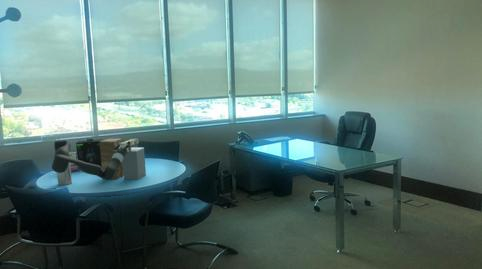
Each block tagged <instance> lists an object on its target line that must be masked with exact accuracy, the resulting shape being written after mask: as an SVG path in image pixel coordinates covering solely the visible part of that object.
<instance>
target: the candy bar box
mask: <svg viewBox="0 0 482 269" xmlns="http://www.w3.org/2000/svg"><path fill="white" fill-rule="evenodd" d="M69 157H72V158H75V159H78V157H77V151H72V152H71V151H69ZM70 167H71V173H72V172H78V171H79V167H78V166H76V165H75V164H73V163H70Z"/></svg>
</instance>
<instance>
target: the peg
mask: <svg viewBox="0 0 482 269" xmlns="http://www.w3.org/2000/svg"><path fill="white" fill-rule="evenodd" d="M128 141H130V146H131V147H132V146H134V145H137V144H139V138H131V139H129V140H125V142H122V143H120V147H121V148H123V147H125V146H126V145H127V143H128Z"/></svg>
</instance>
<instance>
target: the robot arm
mask: <svg viewBox="0 0 482 269" xmlns="http://www.w3.org/2000/svg"><path fill="white" fill-rule="evenodd" d="M125 141H126V140H125ZM125 141H124V140H123V142H125ZM127 141H128V140H127ZM53 147H54V156H53V157H54V158H53V160H52V164H51V169H52V171H54V172H55V173H56V178H57V186H66V185H69V184H72V183H73V179H72V172H71V167H70V163H73V164H75V165H76V166H78V169H79V168H80V169H79V170H81V171H82V172H83V173H85V174H88V175H92V176H97V177H98V178H101V179H103V180H105V181H111V180H113V179H112V178H113V176H114V174H115V172H116V170H117V168H118V167H119V165H120V163H121V162H122V160H123V159H124V157H125V155H126V153H127V152H128V151H129V152H131V148H132V145H131V146H130V141H128V143H127V145H126V146H125V147H123V148H121V147H120V145H117V146H116V147H115V148H114V152H115V153H114V155H113V156H112V159H111V161H110V162H109V164H108V166H107V167H106V169H105V171H104V170H102V167H101V166H99V165H94V164H90V163H86V162H83V161H80V160H78V158H77V159H75V158H72V157H69V153H70V152H71V147H72V146H71V142H70V141H69V140H66V139H61V140H55V141H54V146H53Z"/></svg>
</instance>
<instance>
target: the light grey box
mask: <svg viewBox="0 0 482 269" xmlns="http://www.w3.org/2000/svg"><path fill="white" fill-rule="evenodd" d="M145 156H146V155H145V147H131V152H129V151H128V152H127V153H126V155H125V157H124V159H123V172H124V176H123V179H124V180H140V179H142V178H143V177H145V176H147V171H146V170H147V169H146V158H145Z"/></svg>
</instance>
